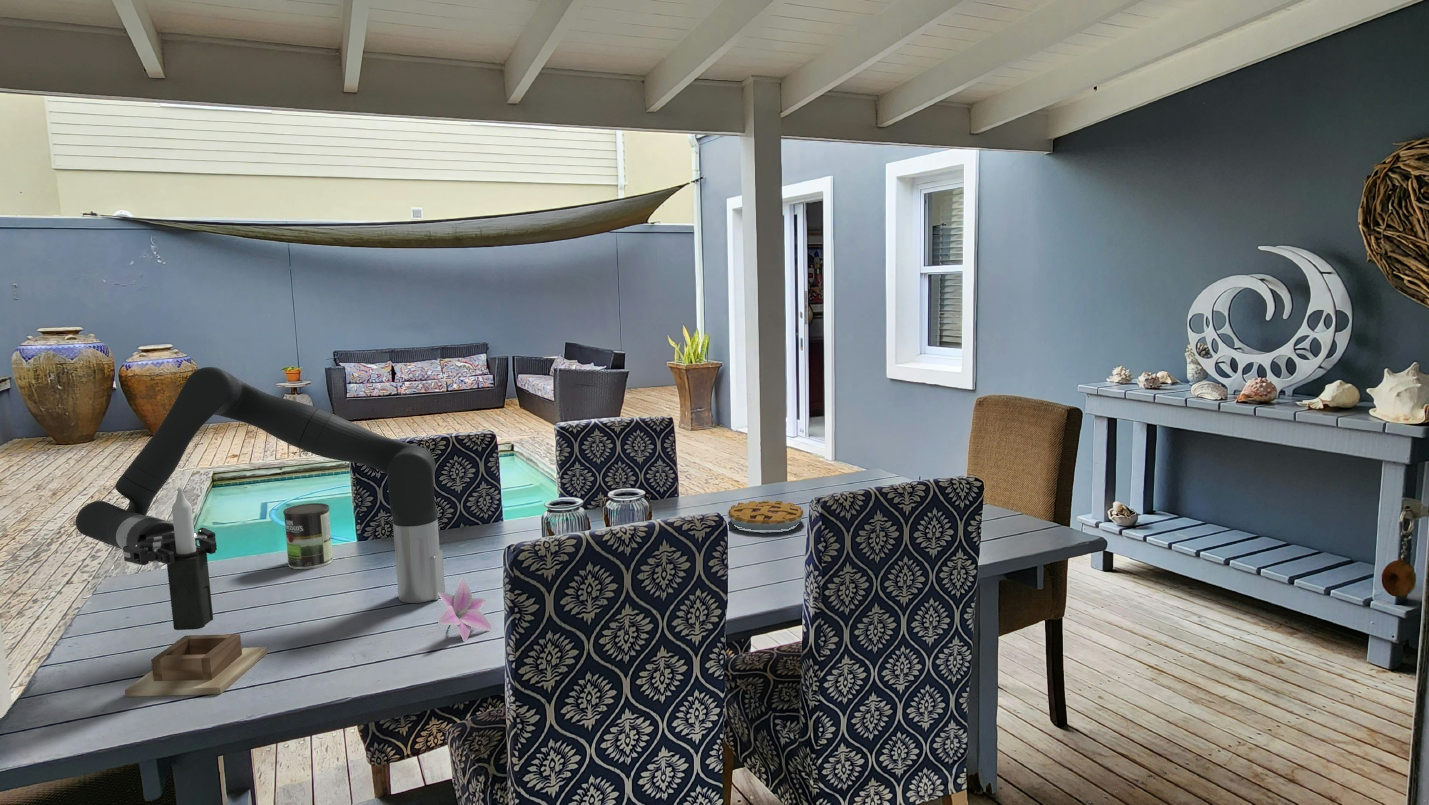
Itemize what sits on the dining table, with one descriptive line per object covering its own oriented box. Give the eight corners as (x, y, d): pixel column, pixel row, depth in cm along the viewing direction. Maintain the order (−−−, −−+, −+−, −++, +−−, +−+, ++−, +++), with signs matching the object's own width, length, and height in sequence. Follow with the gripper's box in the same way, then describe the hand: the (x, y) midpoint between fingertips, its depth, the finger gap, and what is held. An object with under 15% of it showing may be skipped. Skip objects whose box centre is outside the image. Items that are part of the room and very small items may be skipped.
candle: (186, 618, 154) (172, 484, 150) (215, 617, 154) (202, 483, 151) (171, 630, 149) (155, 491, 145) (201, 629, 149) (187, 490, 146)
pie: (721, 534, 232) (721, 516, 231) (732, 512, 253) (732, 496, 252) (802, 537, 228) (802, 519, 227) (806, 515, 249) (806, 498, 249)
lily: (429, 654, 162) (448, 615, 159) (415, 612, 171) (433, 574, 168) (487, 655, 169) (506, 618, 167) (471, 615, 178) (489, 579, 175)
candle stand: (267, 653, 161) (264, 627, 160) (220, 694, 145) (217, 665, 144) (181, 655, 161) (178, 629, 160) (125, 696, 145) (121, 667, 144)
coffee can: (306, 572, 206) (301, 515, 204) (279, 566, 211) (273, 511, 209) (342, 559, 215) (338, 505, 213) (315, 554, 220) (310, 501, 218)
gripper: (101, 527, 151) (145, 543, 142) (187, 508, 163) (233, 522, 154) (106, 568, 152) (150, 586, 143) (191, 546, 164) (237, 562, 155)
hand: (193, 553), depth 148 cm, fingers closed on candle, 6 cm apart
